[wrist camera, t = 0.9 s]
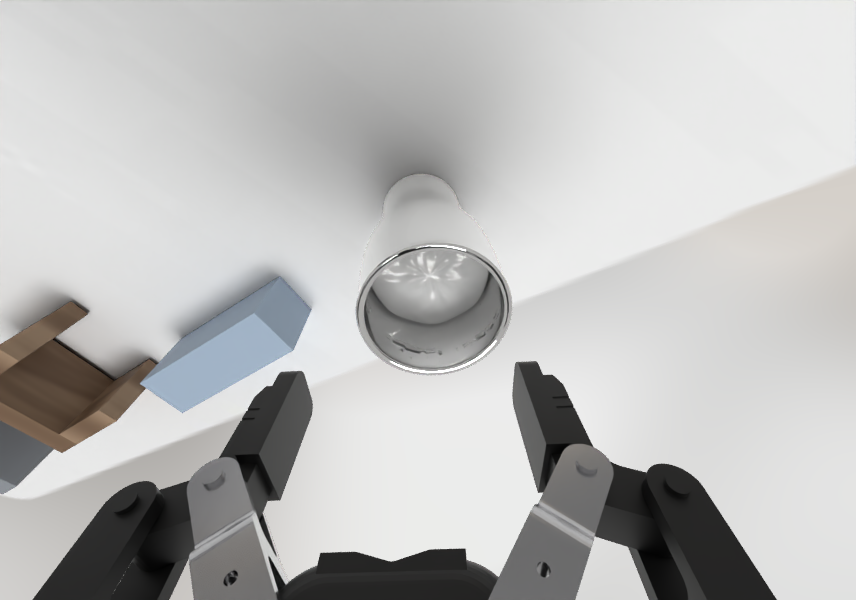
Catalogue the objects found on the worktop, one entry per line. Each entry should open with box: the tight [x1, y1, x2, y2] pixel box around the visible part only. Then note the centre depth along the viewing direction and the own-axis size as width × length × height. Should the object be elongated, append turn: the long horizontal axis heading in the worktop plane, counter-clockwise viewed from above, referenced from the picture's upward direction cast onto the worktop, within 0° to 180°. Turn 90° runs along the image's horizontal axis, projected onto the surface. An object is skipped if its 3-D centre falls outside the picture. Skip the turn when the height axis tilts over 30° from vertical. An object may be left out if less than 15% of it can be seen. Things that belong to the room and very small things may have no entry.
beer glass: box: [356, 174, 512, 375], centre depth 21 cm, size 7×7×15 cm
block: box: [0, 302, 156, 453], centre depth 29 cm, size 7×9×6 cm
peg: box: [140, 276, 311, 413], centre depth 29 cm, size 12×4×6 cm, turn 120°
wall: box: [0, 420, 53, 494], centre depth 31 cm, size 2×9×8 cm, turn 30°
